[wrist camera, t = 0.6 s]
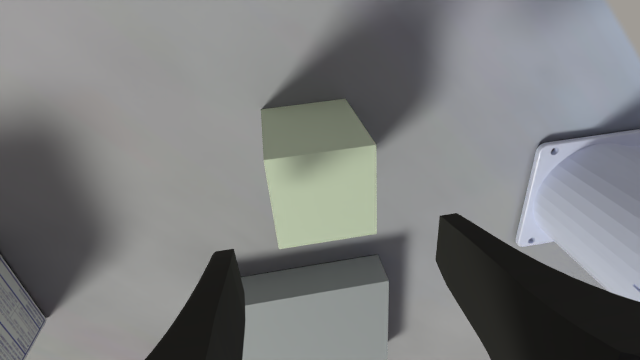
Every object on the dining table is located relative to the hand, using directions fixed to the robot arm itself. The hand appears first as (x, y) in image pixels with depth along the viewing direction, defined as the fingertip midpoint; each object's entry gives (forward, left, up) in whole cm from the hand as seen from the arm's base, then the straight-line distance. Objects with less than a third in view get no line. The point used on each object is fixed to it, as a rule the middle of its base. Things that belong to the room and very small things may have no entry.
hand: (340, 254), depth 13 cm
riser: (+2, +14, -9) cm, 17 cm away
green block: (0, 0, -10) cm, 10 cm away
